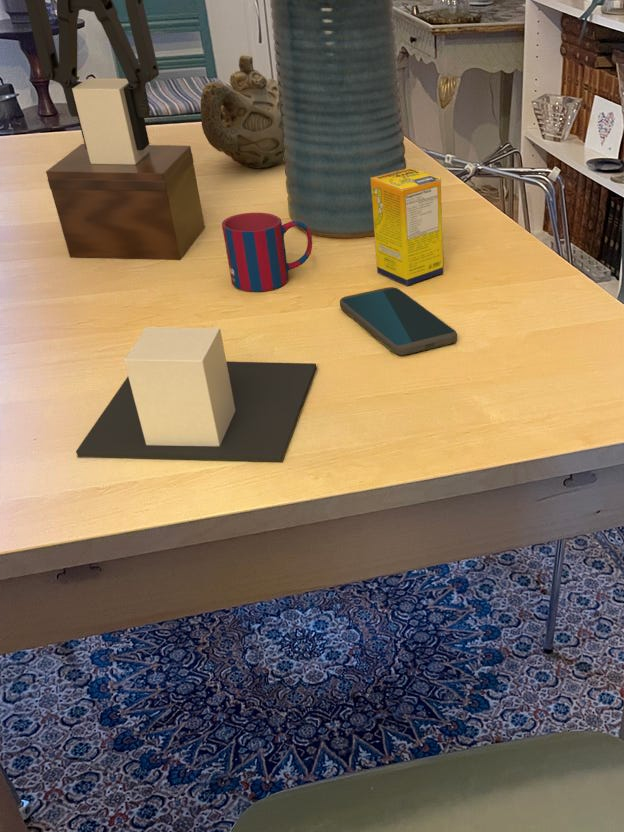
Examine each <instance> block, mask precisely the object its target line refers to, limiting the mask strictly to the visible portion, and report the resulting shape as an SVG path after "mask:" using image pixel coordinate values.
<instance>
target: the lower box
mask: <svg viewBox="0 0 624 832" xmlns="http://www.w3.org/2000/svg"><path fill="white" fill-rule="evenodd" d="M79 83H80V84H79V85H77V86H76V87H74V88H72V91H73V95H74V99H75V103H76V107H77V111H78V115H79V119H80V123H81V127H82V131H83V135H84V139H85V143H86V147H87V151H88V155H89V159H90V163H91V164H124V165H136V164H137V163H138V162H139V161H140V160H141V159H142V158H143V157H144V156H146V155H147V154H148V153H149V148H148V146H147V147H146V148H145V149H144V150H137V148H136V144H135V139H134V135H133V130H132V125H131V121H130V116H129V112H128V107H127V102H126V98H125V93H124V88H125V87H127V85H128V84H129V83H128V81H127V78H108V77H105V78H104V77H99V78H98V77H88V78H87V79H85V80H84V81H82V82H79Z"/></svg>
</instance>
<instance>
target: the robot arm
mask: <svg viewBox="0 0 624 832" xmlns="http://www.w3.org/2000/svg"><path fill="white" fill-rule="evenodd" d="M124 2H125V9H126V13H127V18H128V23H129V25H130V30H131V34H132V38H133V42H134V47H135V50H136V51H134V50H133V48H132V45H131V43H130V40H129V39H128V36H127V34H126V32H125V30H124V27H123V25H122V23H121V20H120V18H119V15H118V10H117V8H116V6H115V3H114V1H113V0H56V16H57V19H58V52H57V49H56V44H55V39H54V34H53V30H52V26H51V21H50V16H49V13H48V12H49V11H48V9H47V4H46V0H24V3H25V5H26V10H27V14H28V18H29V23H30V27H31V31H32V36H33V40H34V44H35V48H36V54H37V57H38V58H37V59H38V61H39V65H40V70H41V74H42V76H43V78H44V79H45V80H47V81H53V82H56V83H58V84H59V85H60V86H61V87H62V90H63V93H64V98H65V102H66V106H67V109H68V112H69V114H70V115H71V117H74V118H75V117H76V118H77V119H78V123H79V128H80V131H81V136H82V139H83V140H82V141H83V144H85V148H86V149H87V147H86V143H85V139H84V135H83V131H82V127H81V123H80V119H79V115H78V111H77V107H76V103H75V99H74V95H73V91H72V88H74V87H76V86H77V85H79V84H80V83H81V82H78V81H79V80H80V76H78V19H79V16H80V11H82V10H84V11H87V12H89V13H91V12H92V13H94V15H95V17H96V20H97V21H98V22H99V23H100V24H101V27H102V28H103V30H104V33H105V35H106V38H107V39H108V42H109V43H110V46H111V48H112V50H113V53H114V54H115V56H116V57H115V58H116V59H117V61H118V63H119V66H120V68H121V70H122V72H123V74H124V76H125V79H127V81H128V83H129V84H128V85H127V87H125V88H124V93H125V98H126V102H127V107H128V112H129V116H130V121H131V125H132V130H133V135H134V139H135V144H136V148H137V150H144V149H145V148H146V147H147V146H148V145H150V140H149V135H148V129H147V125H146V121H145V119H146V118H147V117H148V116H150V114H151V107H150V103H149V98H148V93H147V88H146V85H147V83H149V82H152V81H153V80H154V79H156V78H157V77H158V76H159V74H160V71H159V66H158V62H157V57H156V53H155V48H154V44H153V39H152V35H151V30H150V27H149V22H148V18H147V17H148V16H147V13H146V9H145V5H144V0H125V1H124ZM135 52H136V53H135ZM136 55H137V57H136Z"/></svg>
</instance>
